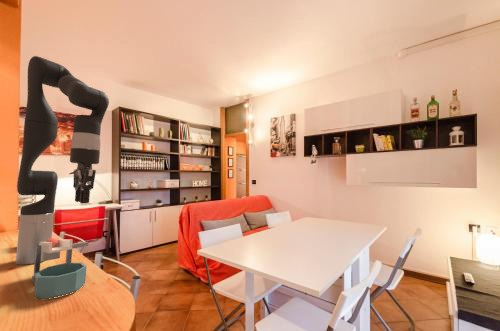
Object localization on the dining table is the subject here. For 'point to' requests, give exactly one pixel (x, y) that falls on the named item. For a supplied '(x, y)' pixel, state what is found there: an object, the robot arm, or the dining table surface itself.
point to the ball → (53, 241)
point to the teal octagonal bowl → (59, 280)
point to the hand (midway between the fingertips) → (81, 202)
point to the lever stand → (38, 259)
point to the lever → (58, 248)
